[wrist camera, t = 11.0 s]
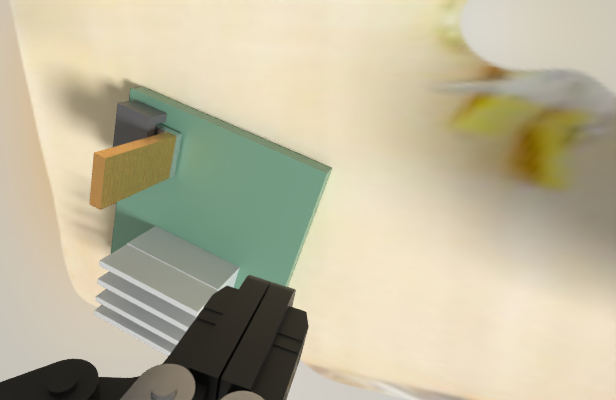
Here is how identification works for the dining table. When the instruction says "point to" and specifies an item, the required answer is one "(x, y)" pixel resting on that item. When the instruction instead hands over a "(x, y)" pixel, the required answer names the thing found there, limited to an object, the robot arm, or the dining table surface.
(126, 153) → the upright wooden plank
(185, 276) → the heatsink board
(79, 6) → the dining table surface
